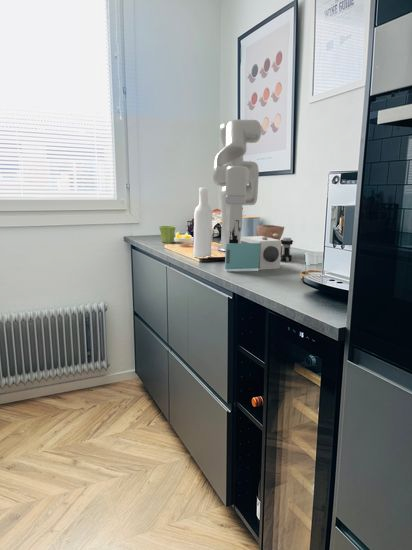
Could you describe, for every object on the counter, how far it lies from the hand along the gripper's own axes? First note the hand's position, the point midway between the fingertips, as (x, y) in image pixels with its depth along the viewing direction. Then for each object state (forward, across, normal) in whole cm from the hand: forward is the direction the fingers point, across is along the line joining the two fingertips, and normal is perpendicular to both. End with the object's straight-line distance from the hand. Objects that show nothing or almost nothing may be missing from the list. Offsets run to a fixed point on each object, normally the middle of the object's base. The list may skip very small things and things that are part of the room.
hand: (233, 249), depth 155 cm
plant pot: (+9, -74, -24) cm, 78 cm away
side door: (+7, +3, +3) cm, 8 cm away
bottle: (+8, -27, -9) cm, 30 cm away
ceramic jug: (+8, -29, +21) cm, 37 cm away
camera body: (+8, -7, +12) cm, 16 cm away
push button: (+8, -17, +25) cm, 32 cm away
